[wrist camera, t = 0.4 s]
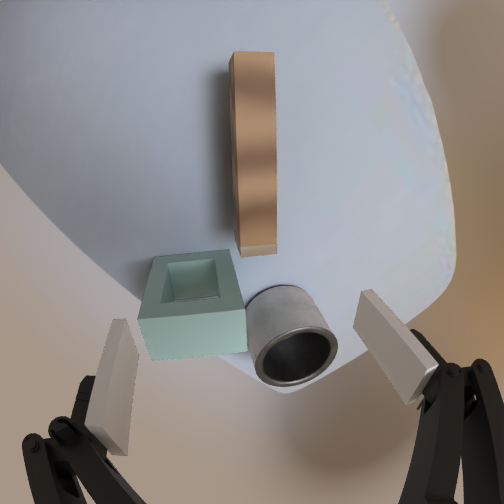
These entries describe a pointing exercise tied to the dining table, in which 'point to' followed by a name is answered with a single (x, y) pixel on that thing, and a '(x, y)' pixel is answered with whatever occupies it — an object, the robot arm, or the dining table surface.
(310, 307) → the planter
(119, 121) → the dining table surface
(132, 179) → the dining table surface
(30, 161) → the dining table surface
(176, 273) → the green rectangular frame
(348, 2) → the dining table surface
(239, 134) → the brown wooden long bar
